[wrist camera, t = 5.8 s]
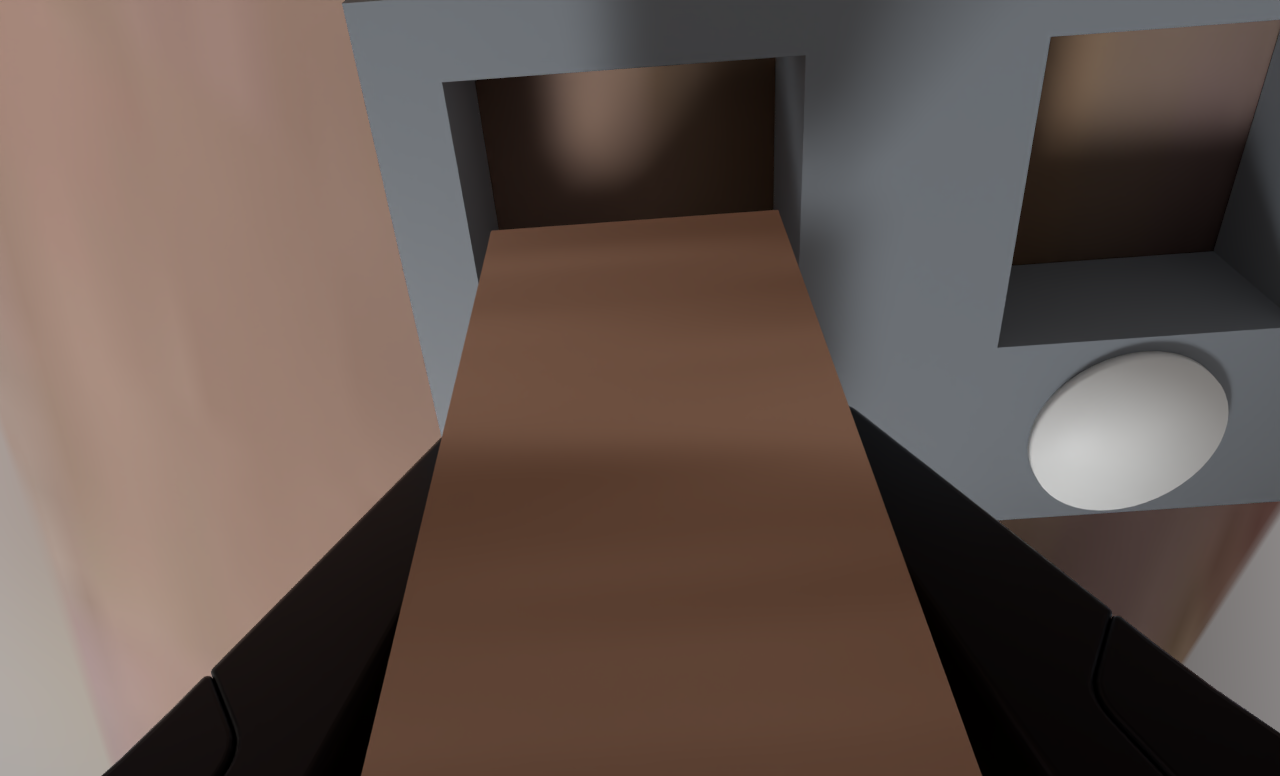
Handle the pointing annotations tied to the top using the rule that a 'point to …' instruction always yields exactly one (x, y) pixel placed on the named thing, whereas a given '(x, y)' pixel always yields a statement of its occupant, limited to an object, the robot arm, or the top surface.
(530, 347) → the brown wooden block
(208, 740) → the robot arm
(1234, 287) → the board
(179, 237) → the top surface
